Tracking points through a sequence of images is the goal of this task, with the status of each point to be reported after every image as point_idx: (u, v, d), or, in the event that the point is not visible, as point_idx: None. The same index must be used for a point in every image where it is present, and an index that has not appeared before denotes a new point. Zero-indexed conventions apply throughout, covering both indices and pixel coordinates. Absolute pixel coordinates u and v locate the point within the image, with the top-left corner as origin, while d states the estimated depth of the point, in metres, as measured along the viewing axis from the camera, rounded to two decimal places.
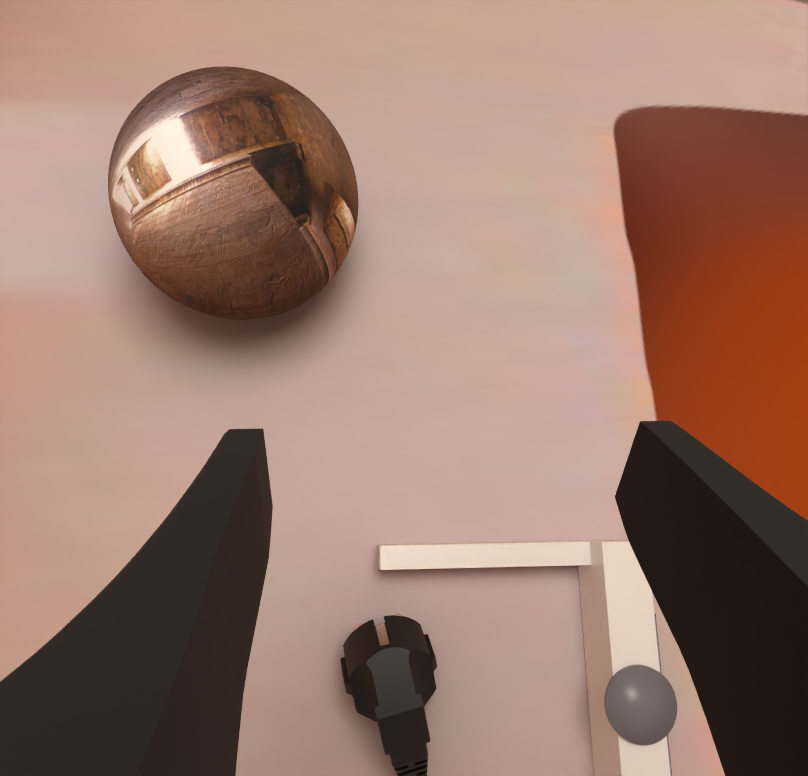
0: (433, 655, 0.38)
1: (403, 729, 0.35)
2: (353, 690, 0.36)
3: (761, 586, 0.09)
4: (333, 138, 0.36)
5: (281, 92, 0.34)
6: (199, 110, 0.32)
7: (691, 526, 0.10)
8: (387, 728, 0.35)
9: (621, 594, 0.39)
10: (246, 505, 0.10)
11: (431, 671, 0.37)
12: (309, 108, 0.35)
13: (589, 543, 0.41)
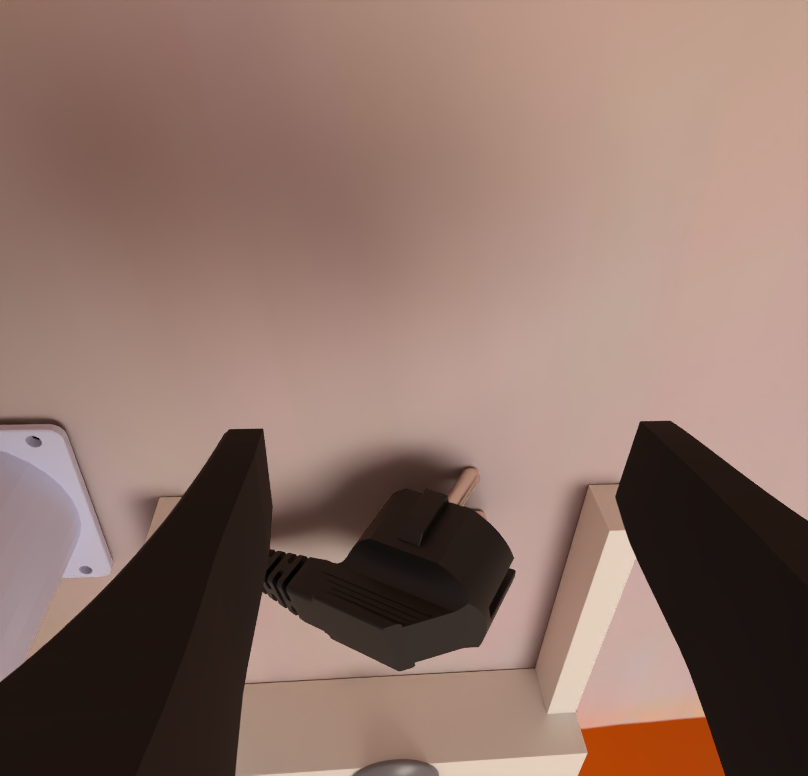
0: None
1: (357, 635, 0.22)
2: (412, 556, 0.21)
3: (761, 586, 0.09)
4: None
5: None
6: None
7: (691, 526, 0.10)
8: (362, 626, 0.21)
9: (520, 766, 0.31)
10: (246, 505, 0.10)
11: None
12: None
13: (573, 713, 0.32)
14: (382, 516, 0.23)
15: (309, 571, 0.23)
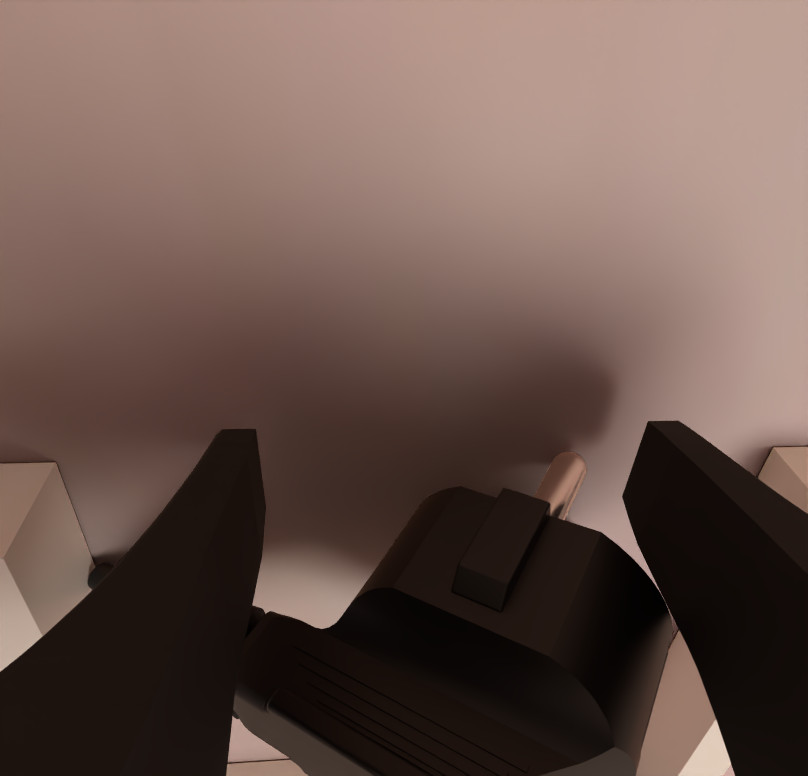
0: None
1: None
2: (486, 632, 0.10)
3: (772, 586, 0.09)
4: None
5: None
6: None
7: (700, 526, 0.10)
8: None
9: None
10: (237, 505, 0.10)
11: None
12: None
13: None
14: (415, 539, 0.11)
15: (265, 643, 0.12)
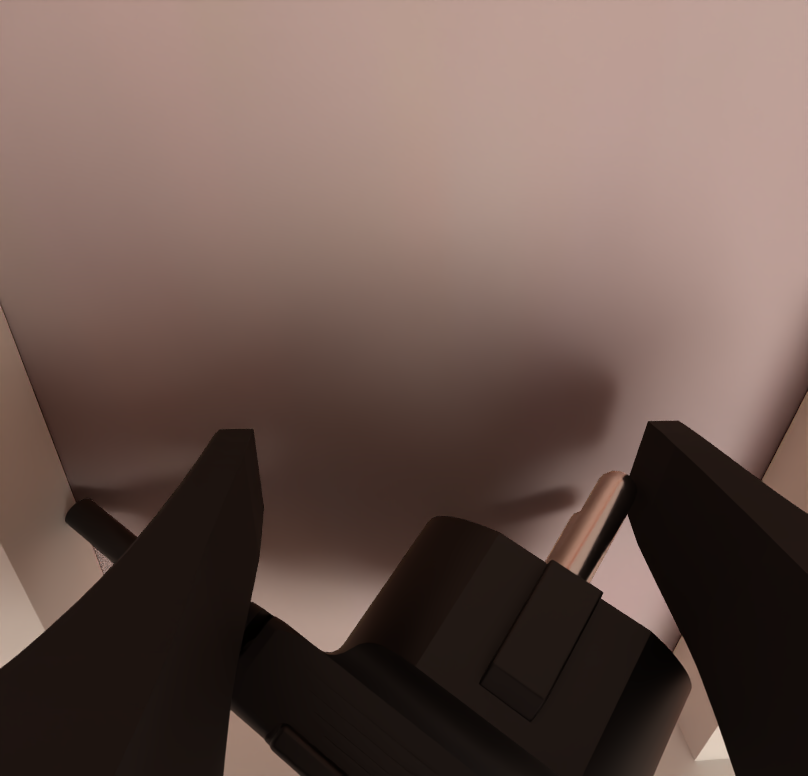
0: None
1: None
2: (512, 740, 0.09)
3: (772, 586, 0.09)
4: None
5: None
6: None
7: (700, 526, 0.10)
8: None
9: None
10: (235, 505, 0.10)
11: None
12: None
13: None
14: (443, 597, 0.10)
15: (267, 661, 0.11)
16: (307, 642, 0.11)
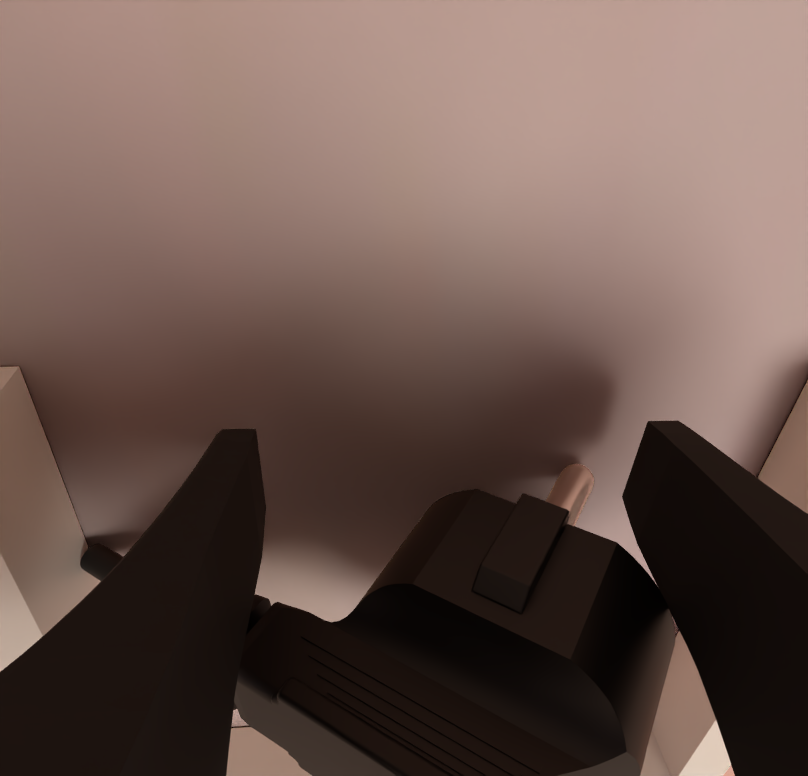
0: None
1: None
2: (507, 633, 0.10)
3: (772, 586, 0.09)
4: None
5: None
6: None
7: (700, 526, 0.10)
8: None
9: None
10: (237, 505, 0.10)
11: None
12: None
13: None
14: (433, 538, 0.11)
15: (273, 633, 0.11)
16: (311, 614, 0.12)
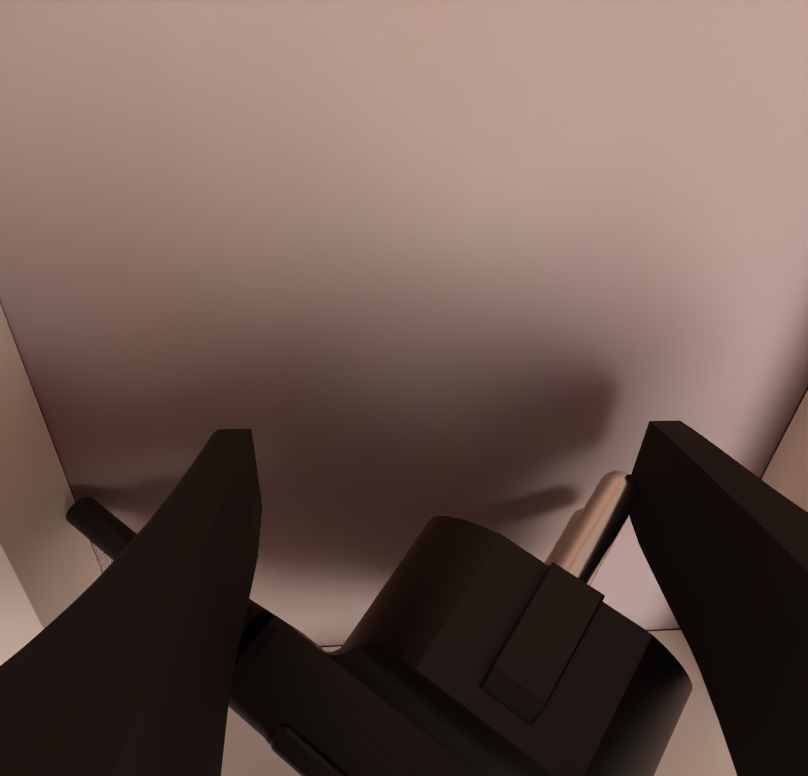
0: None
1: None
2: (512, 743, 0.09)
3: (774, 586, 0.09)
4: None
5: None
6: None
7: (702, 526, 0.10)
8: None
9: None
10: (233, 505, 0.10)
11: None
12: None
13: None
14: (443, 599, 0.10)
15: (268, 661, 0.11)
16: (308, 642, 0.11)
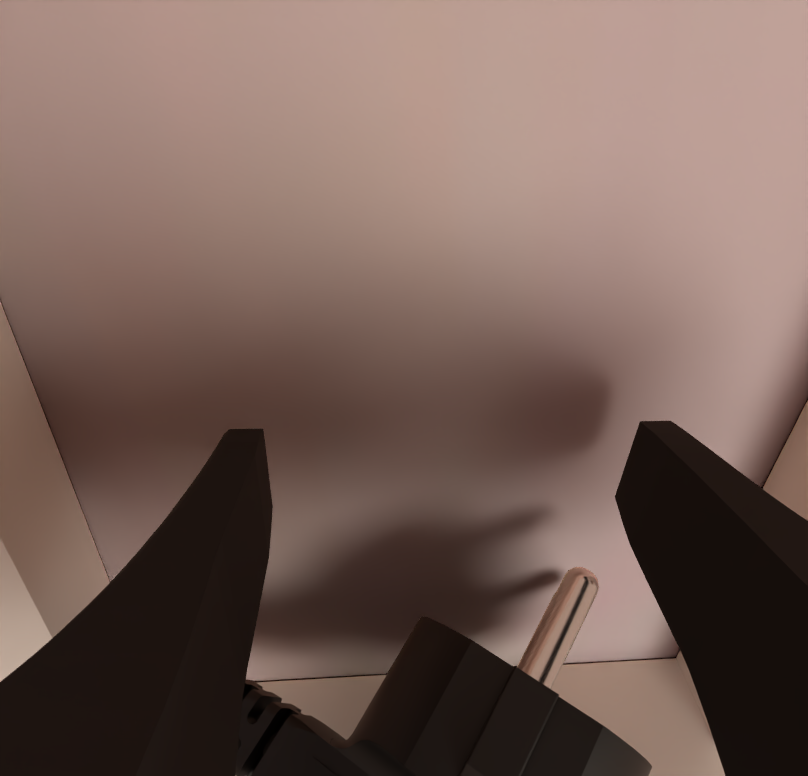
0: None
1: None
2: None
3: (761, 586, 0.09)
4: None
5: None
6: None
7: (691, 526, 0.10)
8: None
9: None
10: (245, 505, 0.10)
11: None
12: None
13: None
14: (426, 700, 0.12)
15: (286, 756, 0.13)
16: (319, 738, 0.13)
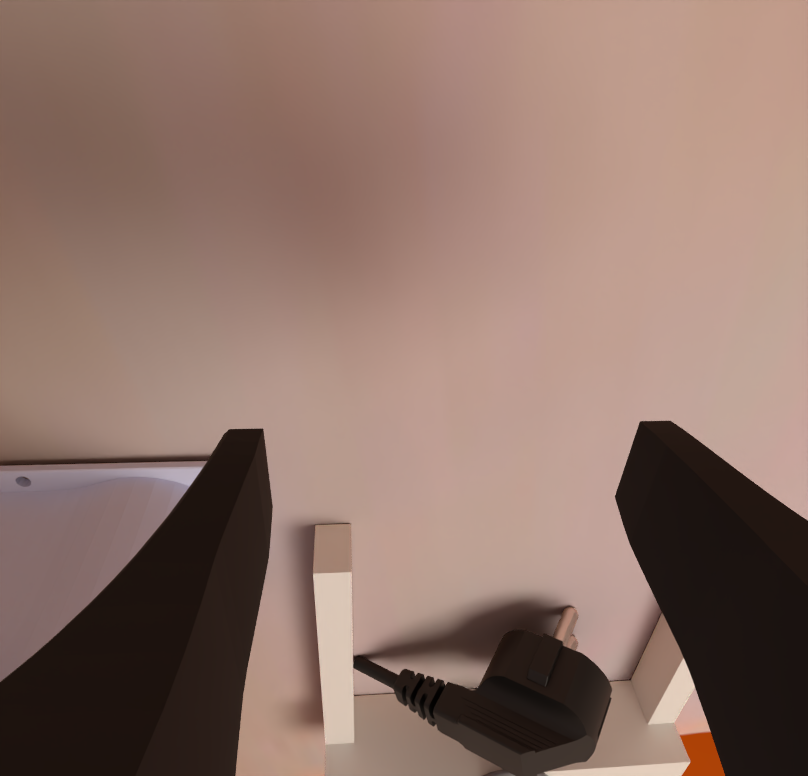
0: None
1: (493, 752, 0.28)
2: (540, 694, 0.27)
3: (761, 586, 0.09)
4: None
5: None
6: None
7: (691, 526, 0.10)
8: (501, 748, 0.27)
9: (626, 774, 0.33)
10: (246, 505, 0.10)
11: None
12: None
13: (672, 723, 0.34)
14: (509, 654, 0.29)
15: (450, 696, 0.29)
16: (463, 687, 0.29)
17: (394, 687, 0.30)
